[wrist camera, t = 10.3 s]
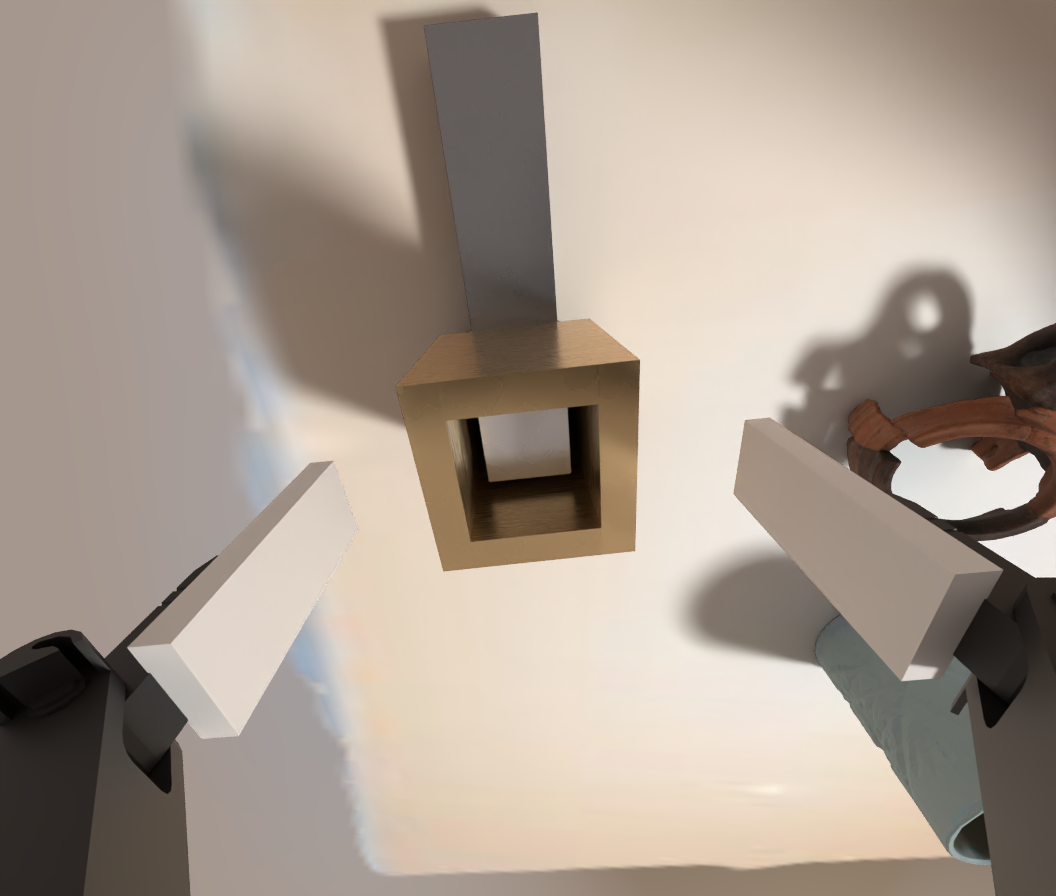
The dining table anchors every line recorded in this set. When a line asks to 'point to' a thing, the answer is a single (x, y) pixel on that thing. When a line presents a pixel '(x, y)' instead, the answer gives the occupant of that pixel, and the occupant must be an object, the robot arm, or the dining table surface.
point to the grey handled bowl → (501, 208)
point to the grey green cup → (915, 735)
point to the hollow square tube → (514, 387)
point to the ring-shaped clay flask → (978, 432)
